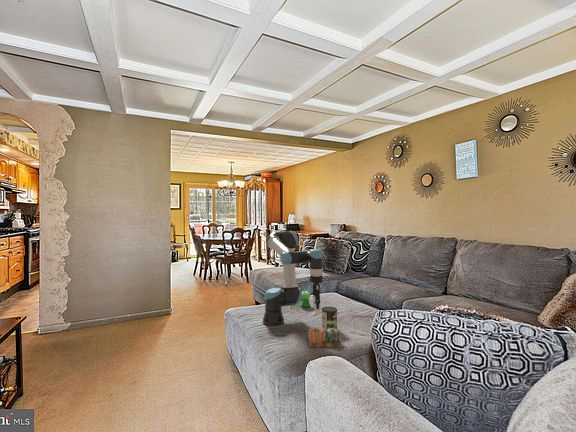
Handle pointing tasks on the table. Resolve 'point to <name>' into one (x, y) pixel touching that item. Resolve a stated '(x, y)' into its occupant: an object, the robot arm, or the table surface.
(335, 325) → the coffee can
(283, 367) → the table surface
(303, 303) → the toy character
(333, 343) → the gear board
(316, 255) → the robot arm
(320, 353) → the table surface
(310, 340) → the loose gear
